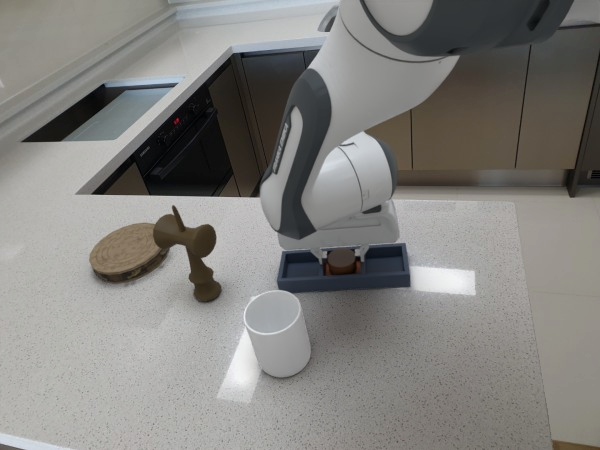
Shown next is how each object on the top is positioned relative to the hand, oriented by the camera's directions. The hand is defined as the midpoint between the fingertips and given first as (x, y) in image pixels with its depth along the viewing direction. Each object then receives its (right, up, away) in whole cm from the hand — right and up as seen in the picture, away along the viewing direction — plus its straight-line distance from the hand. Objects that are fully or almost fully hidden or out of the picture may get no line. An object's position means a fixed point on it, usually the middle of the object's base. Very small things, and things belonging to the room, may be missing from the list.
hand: (342, 261), depth 81 cm
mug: (-11, -13, -9) cm, 19 cm away
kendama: (-24, -6, +4) cm, 25 cm away
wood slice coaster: (-43, 0, +17) cm, 46 cm away
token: (0, -1, +1) cm, 2 cm away
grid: (0, -2, +2) cm, 3 cm away
